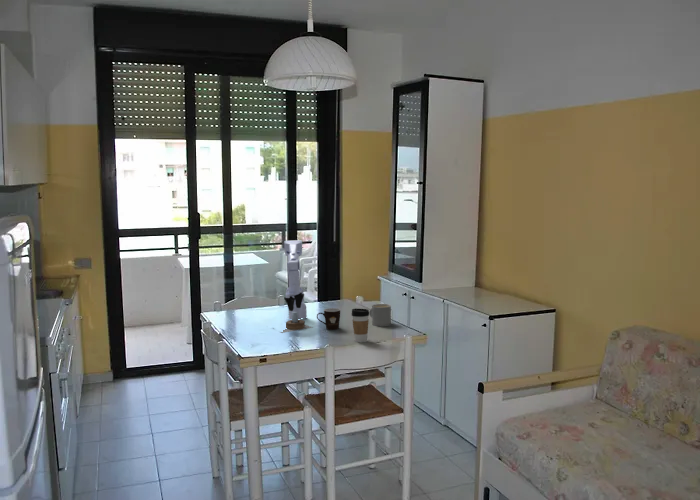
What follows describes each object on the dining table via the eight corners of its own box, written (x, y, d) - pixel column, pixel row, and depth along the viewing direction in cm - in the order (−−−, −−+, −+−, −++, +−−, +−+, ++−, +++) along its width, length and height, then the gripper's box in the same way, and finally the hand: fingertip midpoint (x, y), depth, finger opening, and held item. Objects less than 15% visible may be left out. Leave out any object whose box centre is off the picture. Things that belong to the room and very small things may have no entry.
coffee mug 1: (343, 327, 299) (342, 308, 298) (337, 331, 291) (337, 312, 290) (322, 326, 303) (322, 307, 301) (316, 330, 294) (315, 310, 293)
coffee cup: (351, 338, 276) (350, 307, 274) (368, 337, 277) (368, 307, 275) (352, 343, 268) (352, 311, 266) (370, 342, 268) (370, 310, 267)
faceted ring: (298, 324, 306) (298, 319, 306) (307, 327, 299) (307, 322, 298) (283, 327, 301) (283, 321, 301) (292, 330, 294) (291, 324, 293)
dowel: (296, 326, 302) (295, 311, 301) (299, 327, 300) (298, 312, 299) (291, 327, 300) (290, 312, 299) (294, 328, 298) (294, 313, 297)
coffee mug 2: (394, 324, 303) (394, 306, 302) (378, 327, 298) (378, 308, 297) (380, 320, 314) (380, 302, 313) (365, 322, 309) (364, 304, 308)
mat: (296, 321, 314) (296, 321, 314) (312, 328, 299) (312, 327, 299) (266, 326, 304) (266, 326, 304) (282, 333, 289) (282, 332, 289)
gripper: (294, 280, 306) (295, 306, 307) (280, 285, 293) (280, 311, 294) (306, 281, 303) (306, 306, 304) (292, 285, 290) (292, 312, 291)
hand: (294, 309), depth 299 cm, fingers open, 7 cm apart
